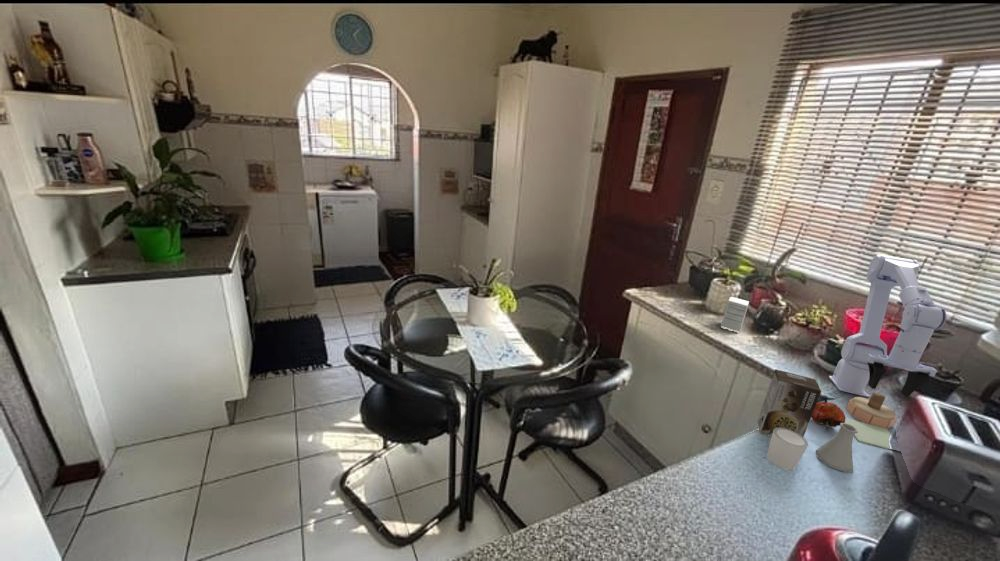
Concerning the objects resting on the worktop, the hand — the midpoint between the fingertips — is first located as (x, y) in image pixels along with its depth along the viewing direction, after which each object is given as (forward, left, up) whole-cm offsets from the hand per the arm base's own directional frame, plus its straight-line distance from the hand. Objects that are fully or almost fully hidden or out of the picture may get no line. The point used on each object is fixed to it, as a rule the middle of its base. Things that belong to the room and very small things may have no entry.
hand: (887, 390), depth 114 cm
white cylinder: (+33, -32, -10) cm, 47 cm away
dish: (-2, 0, -10) cm, 10 cm away
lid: (-2, 0, -7) cm, 7 cm away
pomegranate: (+10, -16, -10) cm, 21 cm away
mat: (+9, -4, -10) cm, 14 cm away
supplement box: (-53, -29, -10) cm, 62 cm away
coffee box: (+20, -29, -10) cm, 37 cm away
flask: (+27, -19, -11) cm, 34 cm away
